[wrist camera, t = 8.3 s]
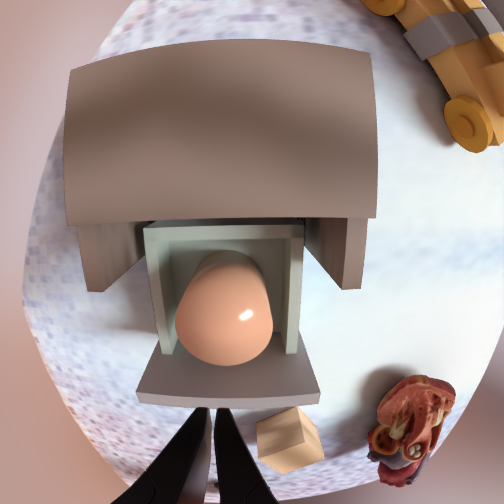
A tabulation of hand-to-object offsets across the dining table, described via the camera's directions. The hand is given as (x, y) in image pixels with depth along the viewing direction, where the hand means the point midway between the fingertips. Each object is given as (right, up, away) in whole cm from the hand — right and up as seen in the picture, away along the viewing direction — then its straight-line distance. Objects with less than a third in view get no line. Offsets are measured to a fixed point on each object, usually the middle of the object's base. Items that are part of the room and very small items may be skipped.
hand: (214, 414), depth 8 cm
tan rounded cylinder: (0, +3, +12) cm, 12 cm away
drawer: (-1, +3, +12) cm, 13 cm away
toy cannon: (+22, +26, +7) cm, 35 cm away
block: (+5, -14, +17) cm, 23 cm away
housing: (-1, +11, +10) cm, 15 cm away
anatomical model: (+19, -14, +18) cm, 30 cm away
